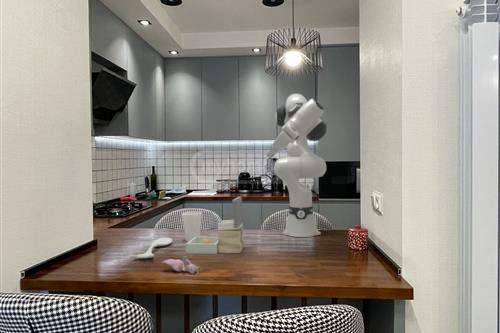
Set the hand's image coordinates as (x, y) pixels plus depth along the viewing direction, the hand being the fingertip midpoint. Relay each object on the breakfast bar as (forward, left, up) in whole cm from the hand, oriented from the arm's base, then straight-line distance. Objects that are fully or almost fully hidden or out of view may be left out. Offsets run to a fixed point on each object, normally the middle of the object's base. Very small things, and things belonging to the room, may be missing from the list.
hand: (268, 156), depth 144 cm
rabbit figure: (+29, -29, -40) cm, 57 cm away
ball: (+1, -28, -37) cm, 46 cm away
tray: (+1, -28, -39) cm, 48 cm away
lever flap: (+1, -17, -30) cm, 34 cm away
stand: (+1, -17, -39) cm, 43 cm away
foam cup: (-16, -39, -39) cm, 58 cm away
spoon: (+5, -50, -40) cm, 64 cm away
